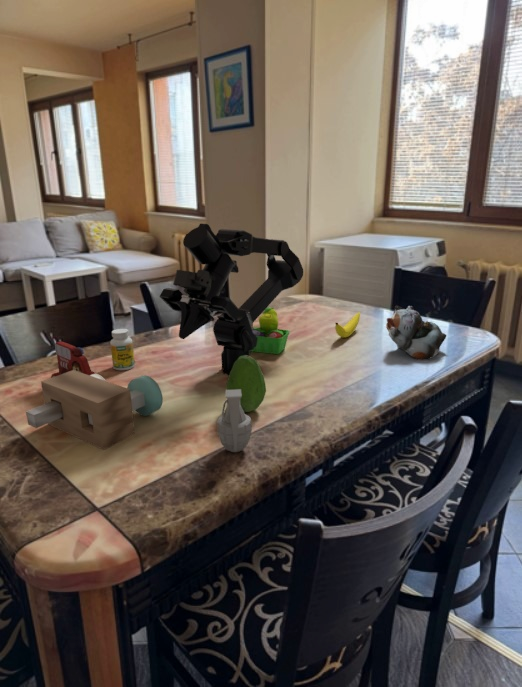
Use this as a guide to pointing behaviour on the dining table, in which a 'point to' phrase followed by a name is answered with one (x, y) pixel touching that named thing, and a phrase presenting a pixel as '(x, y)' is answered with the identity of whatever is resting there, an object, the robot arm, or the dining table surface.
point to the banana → (348, 327)
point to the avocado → (247, 382)
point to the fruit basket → (270, 333)
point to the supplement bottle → (122, 350)
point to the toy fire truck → (71, 359)
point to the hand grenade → (234, 423)
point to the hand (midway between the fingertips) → (181, 337)
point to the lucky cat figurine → (414, 333)
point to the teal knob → (143, 396)
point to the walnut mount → (85, 408)
